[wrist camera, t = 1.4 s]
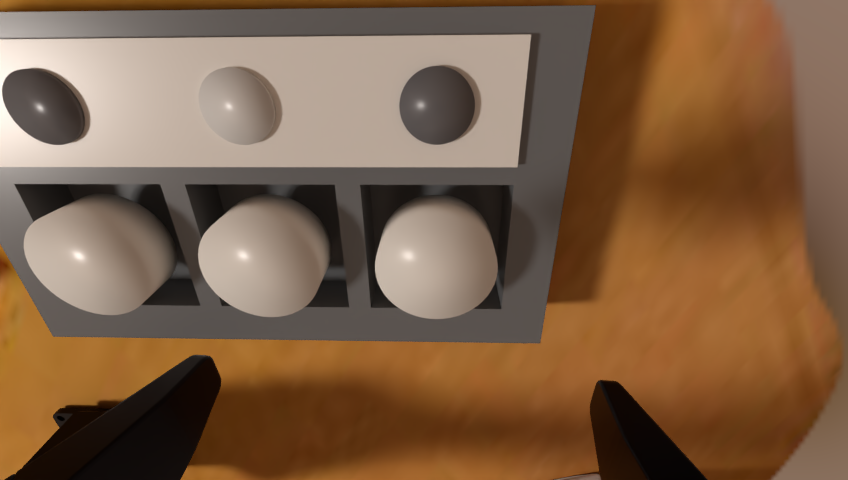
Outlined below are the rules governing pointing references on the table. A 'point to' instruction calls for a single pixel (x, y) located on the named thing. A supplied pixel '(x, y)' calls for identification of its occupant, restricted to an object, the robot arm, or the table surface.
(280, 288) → the button
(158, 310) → the board
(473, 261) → the button
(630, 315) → the table surface
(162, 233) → the button
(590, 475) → the syrup box
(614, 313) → the table surface
